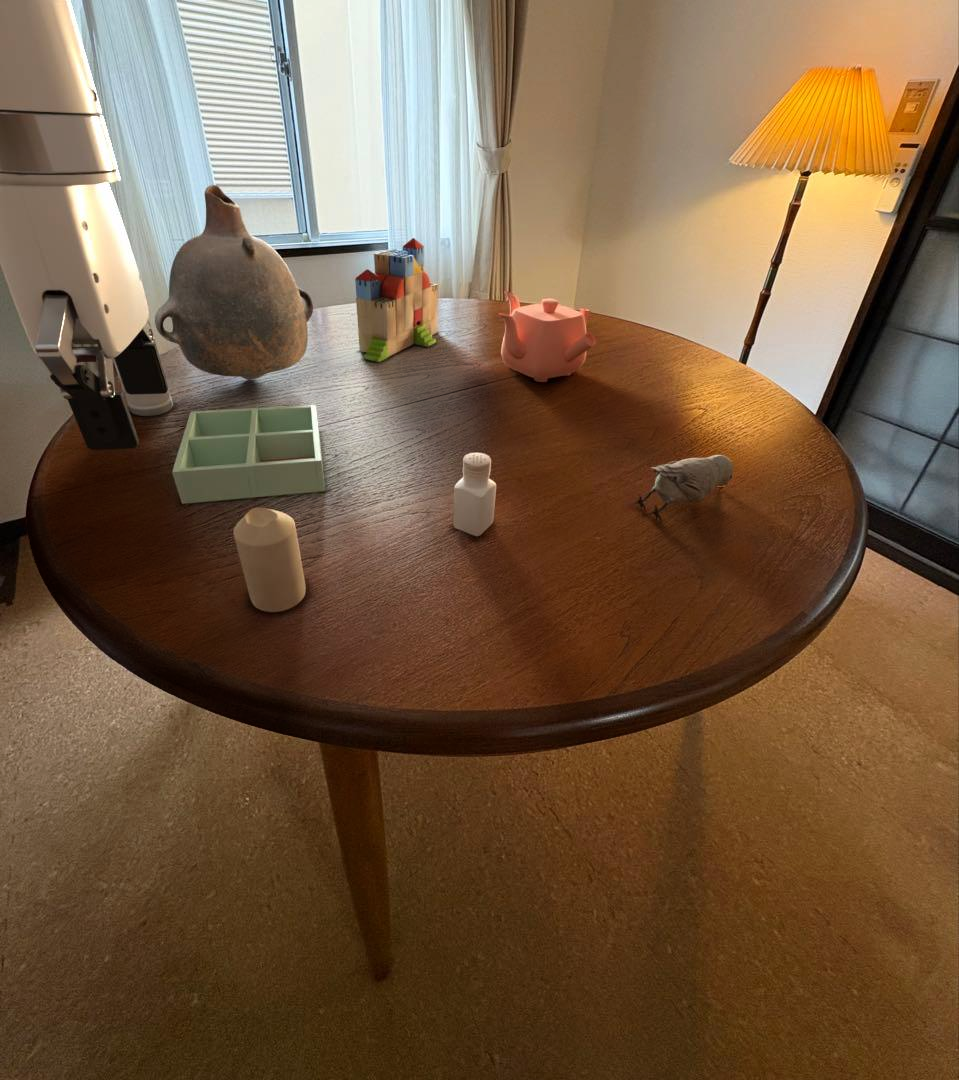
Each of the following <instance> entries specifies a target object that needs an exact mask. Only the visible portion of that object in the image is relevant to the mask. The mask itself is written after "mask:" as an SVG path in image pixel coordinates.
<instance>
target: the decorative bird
mask: <svg viewBox="0 0 959 1080" xmlns="http://www.w3.org/2000/svg"><path fill="white" fill-rule="evenodd" d="M649 468H650V469H654V470H652V472H653V473H656V475H657V476H656V477H655V481H654V486H653V487H652V488H651V489H650V490H649V492H648V493H647V495H646V496H645V497H644V498H643V497H642V495H641V494H638V496H639V498H638V500H637V501H636V502H634V503H633V504H634V505H636V504H638V505H639V506H640V508H639V510H640V511H641V510H642V508H643V509H644V512H647V511H646V510H647V509H646V505H645V504H644V501H646V500H648V498H649V497H650V496H651V495H652V494H653V493H657V494H658V496H659V497H660V498H661V500H662V501H663V502H665V503H664V504H663V505H662V506H661V507H660V508H658V506H657V505H656V504H655V505H654V507H655V508H654V510H653V511H652V512H650V513H649V515H654V516H655V521H658V519H659V520H660V522H662V517H661V515H660V512H662V511H663V510H664V509H665V508H666V507H667V505H670V504H683V503H689V501H690V502H694V503H700V502H702V501H704V500H705V499H706V498H707V497H708V496H709V495H710V494H711V493H712V492H713V491H714V490H715V488H717V489H719V490H722V489H724V488H725V487H717V486H723V485H726V486H727V485H728V484H729V482H730V481H731V479H732V478H733V475H734V464H733V462H732V461H731V459H730V458H729V457H727V455H723V454H714V455H711V456H708V457H689V458H688V457H687V458H685V459H684V458H683V459H681V460H673V461H670V462H668V463H666V464H663V465H657V466H654V467H653V466H652V467H649Z"/></svg>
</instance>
